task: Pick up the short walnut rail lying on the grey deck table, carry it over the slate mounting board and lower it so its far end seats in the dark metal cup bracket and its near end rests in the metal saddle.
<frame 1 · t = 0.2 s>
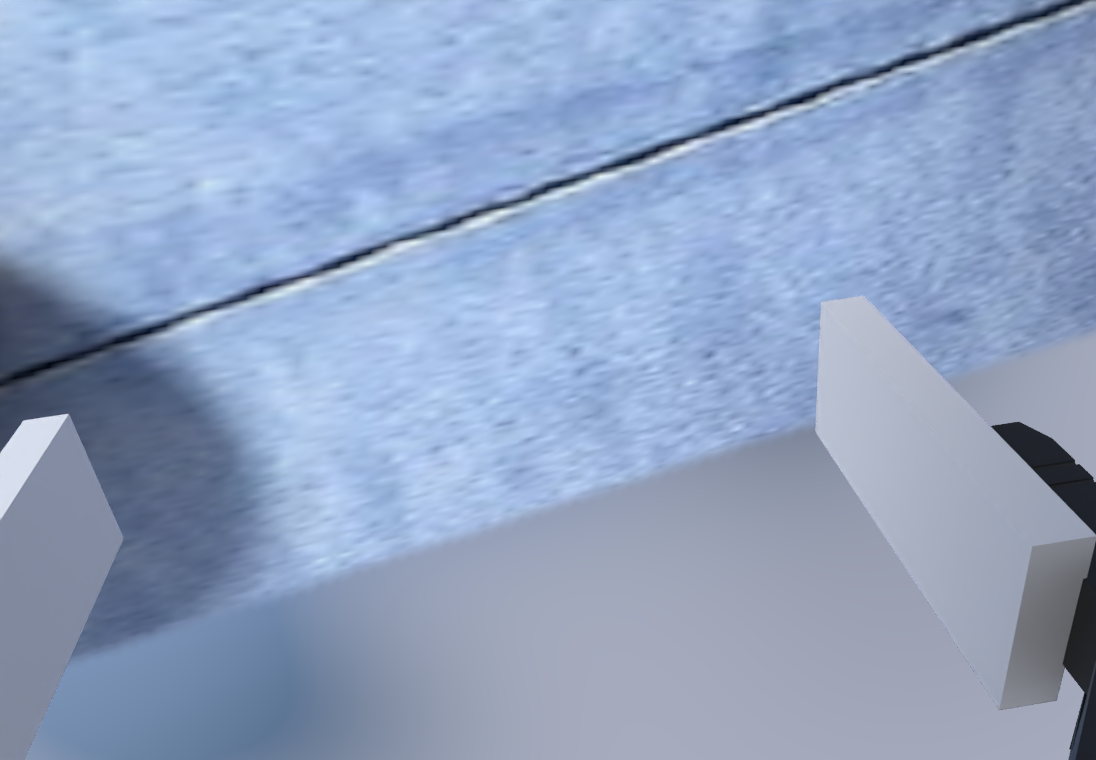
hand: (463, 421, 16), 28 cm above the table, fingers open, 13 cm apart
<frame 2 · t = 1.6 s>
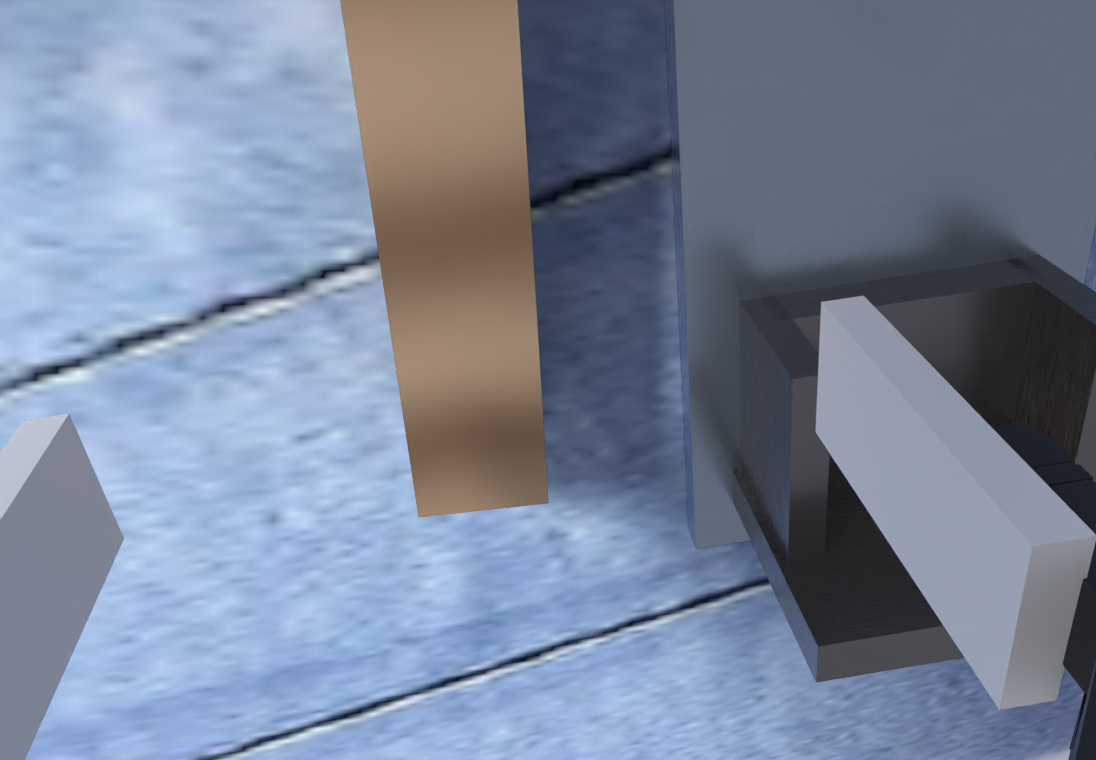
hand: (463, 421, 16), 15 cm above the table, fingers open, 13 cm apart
cup fixture: (887, 104, 29), on the table
rail: (449, 165, 29), on the table
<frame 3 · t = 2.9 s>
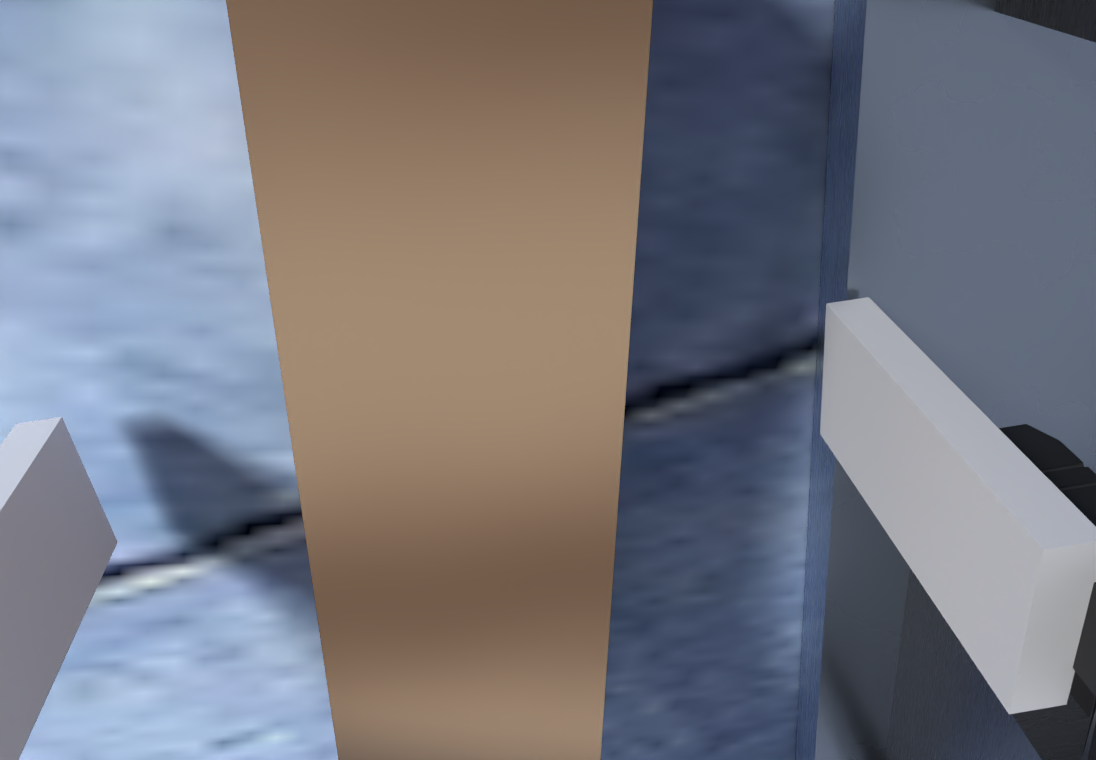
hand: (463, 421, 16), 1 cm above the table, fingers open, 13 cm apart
rail: (453, 366, 18), on the table
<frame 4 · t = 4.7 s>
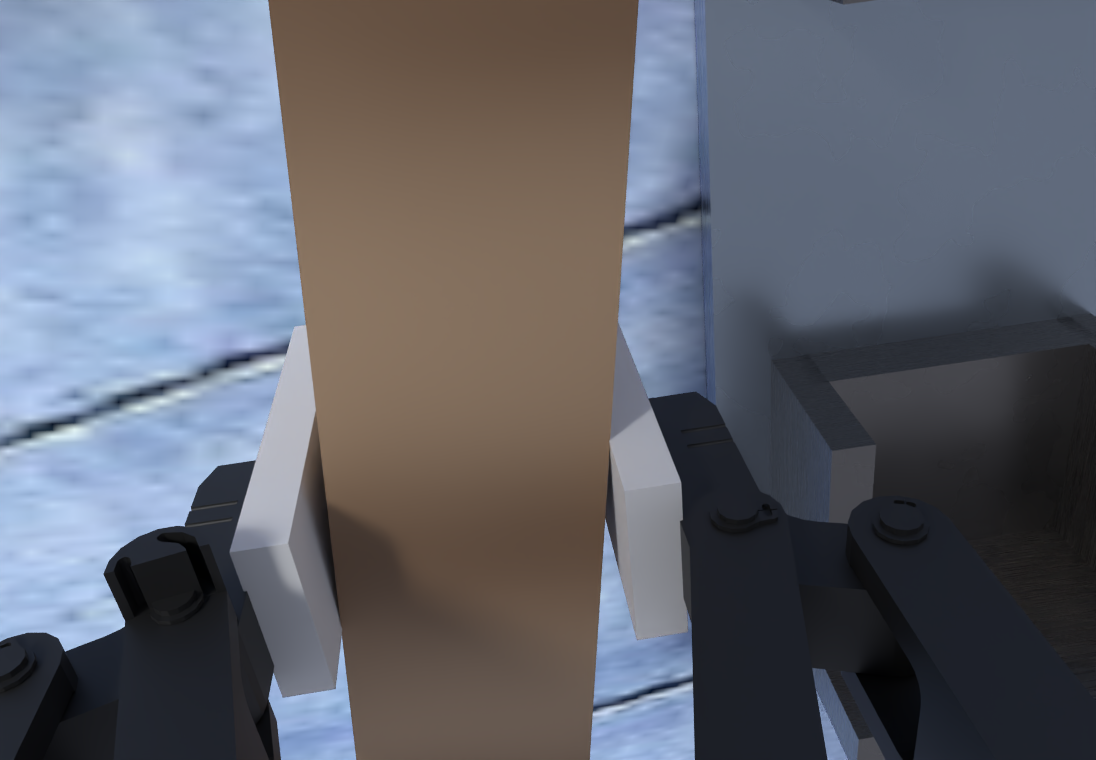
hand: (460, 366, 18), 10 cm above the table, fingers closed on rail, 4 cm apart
cup fixture: (930, 155, 28), on the table
rail: (459, 361, 19), point 9 cm above the table, touching gripper
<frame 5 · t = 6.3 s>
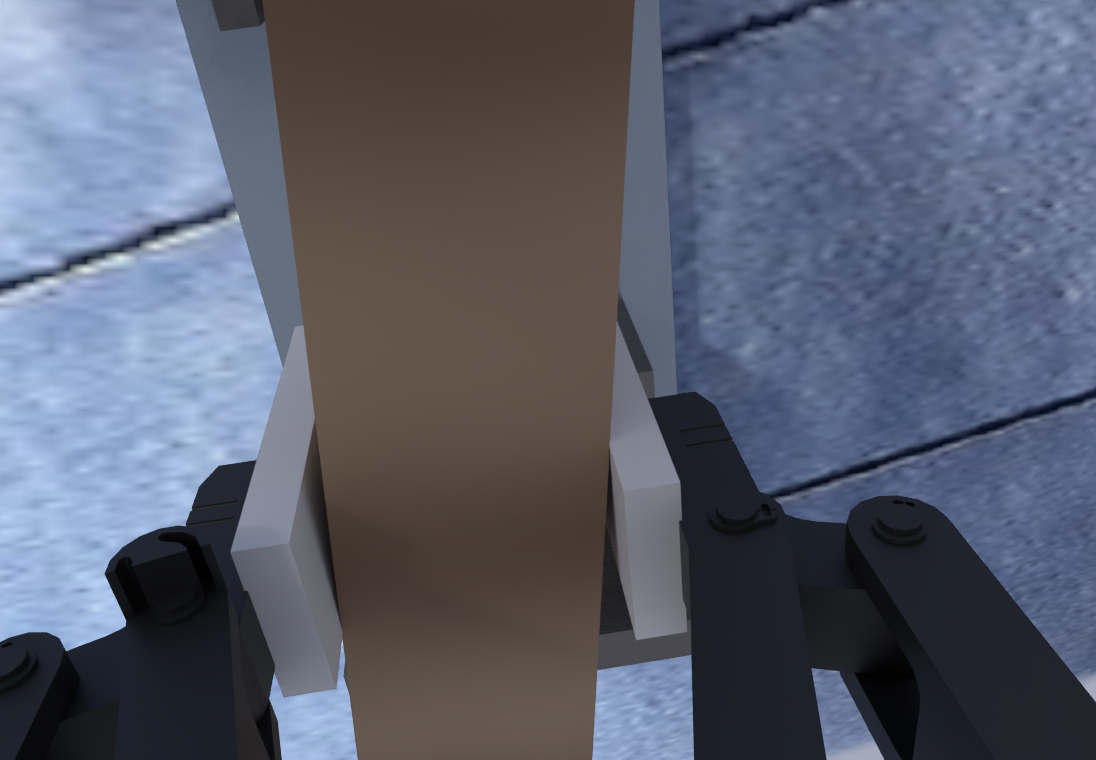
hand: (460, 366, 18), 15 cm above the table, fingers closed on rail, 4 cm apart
cup fixture: (450, 156, 31), on the table
rail: (460, 365, 19), point 14 cm above the table, touching gripper
when the fingers open (4 cm above the table, at t = 8.3 s): rail stays where it is, resting on cup fixture.
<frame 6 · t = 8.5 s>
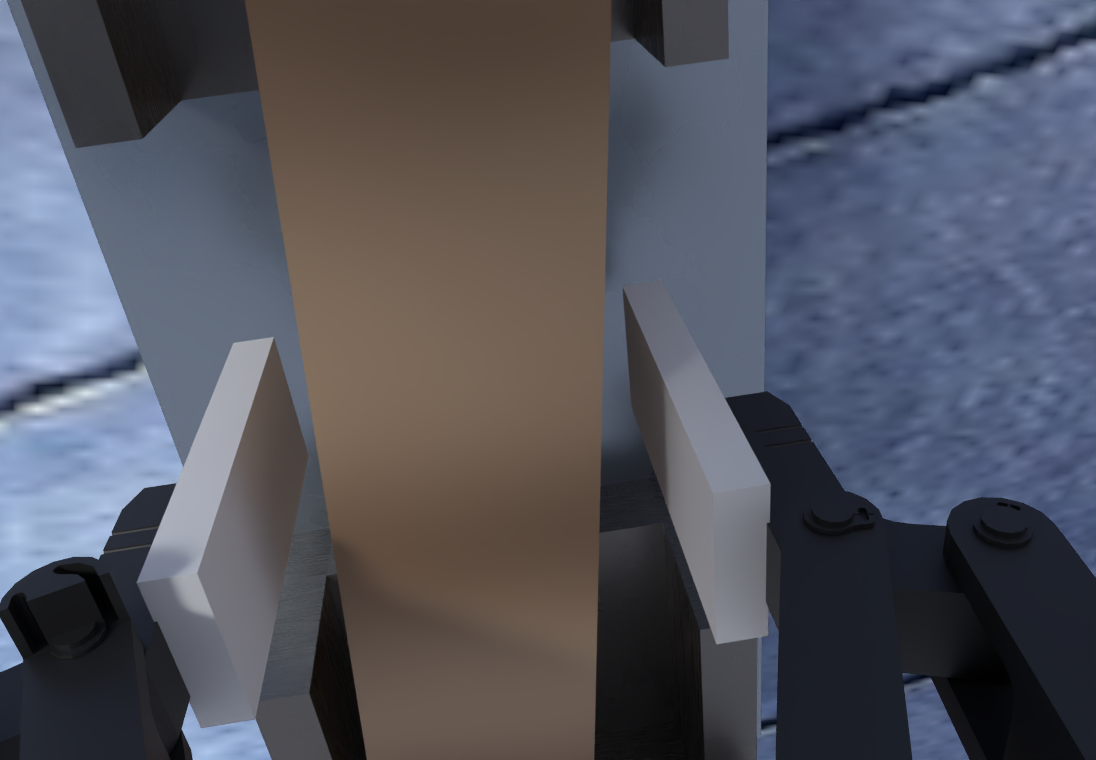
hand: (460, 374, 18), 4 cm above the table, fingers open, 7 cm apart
cup fixture: (456, 285, 22), on the table
rail: (458, 357, 19), point 3 cm above the table, touching cup fixture
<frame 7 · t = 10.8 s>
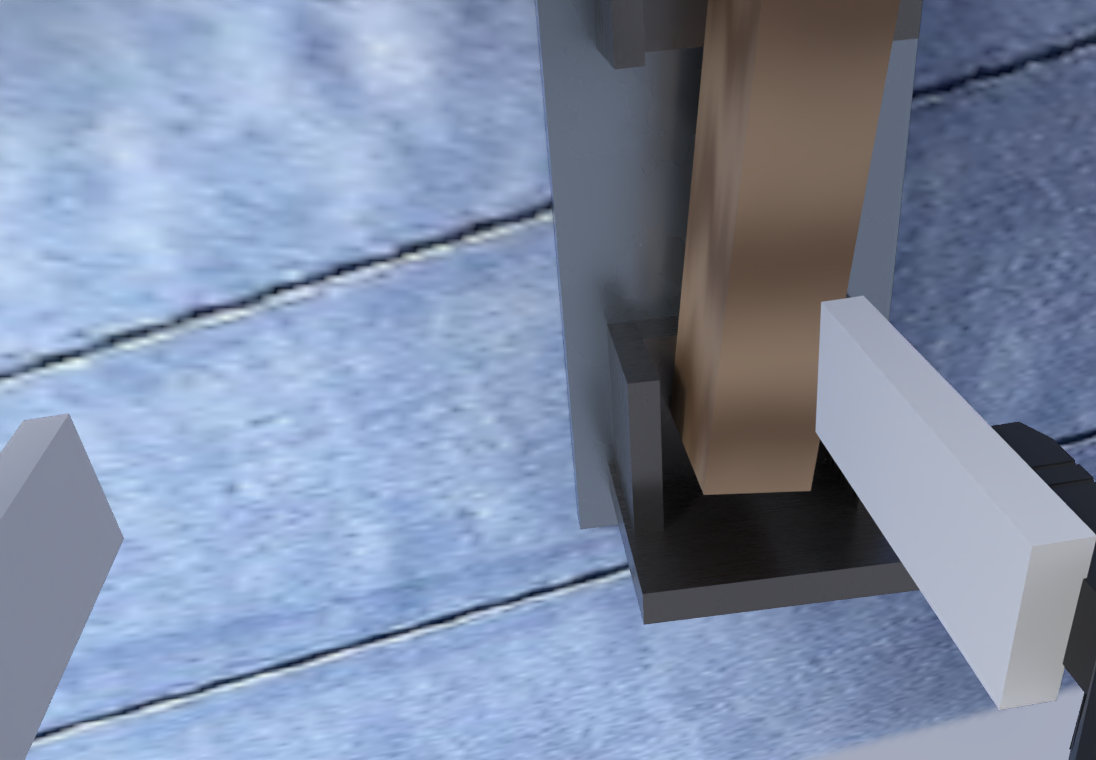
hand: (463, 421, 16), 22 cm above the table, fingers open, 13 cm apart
cup fixture: (723, 173, 37), on the table
rail: (741, 204, 35), point 3 cm above the table, touching cup fixture
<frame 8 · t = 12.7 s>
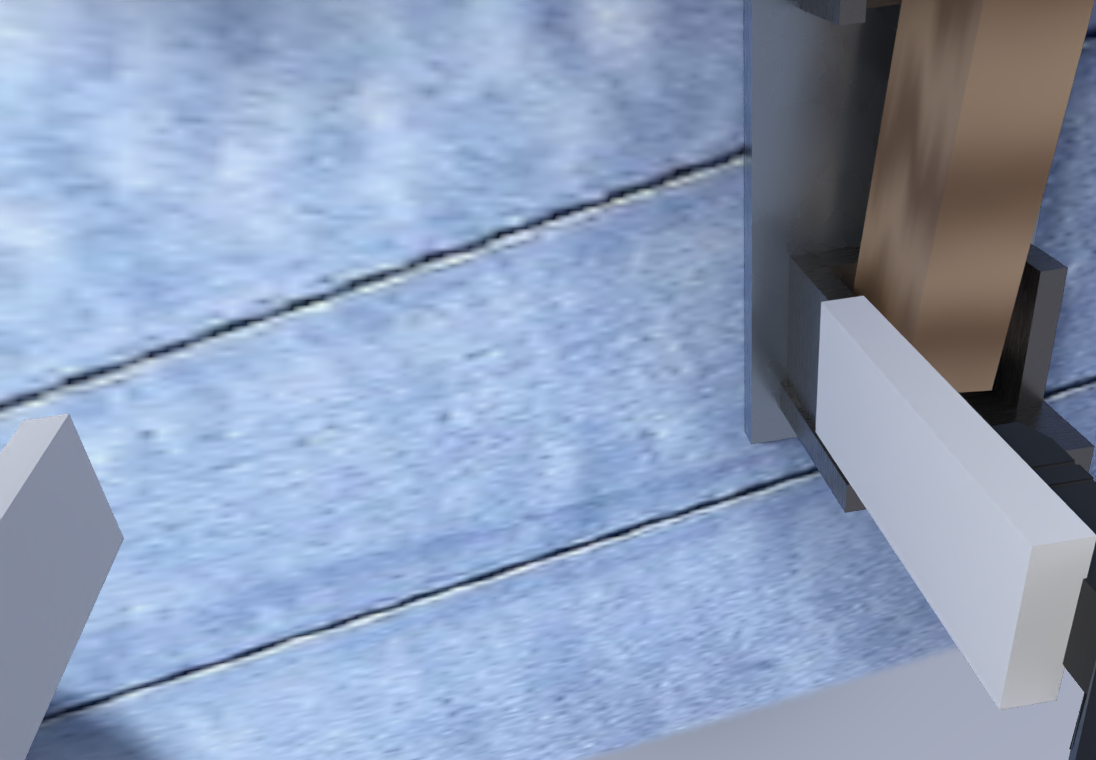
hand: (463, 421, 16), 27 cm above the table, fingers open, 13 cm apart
cup fixture: (894, 118, 42), on the table
rail: (922, 142, 40), point 3 cm above the table, touching cup fixture
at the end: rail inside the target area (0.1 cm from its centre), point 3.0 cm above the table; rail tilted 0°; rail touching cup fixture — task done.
